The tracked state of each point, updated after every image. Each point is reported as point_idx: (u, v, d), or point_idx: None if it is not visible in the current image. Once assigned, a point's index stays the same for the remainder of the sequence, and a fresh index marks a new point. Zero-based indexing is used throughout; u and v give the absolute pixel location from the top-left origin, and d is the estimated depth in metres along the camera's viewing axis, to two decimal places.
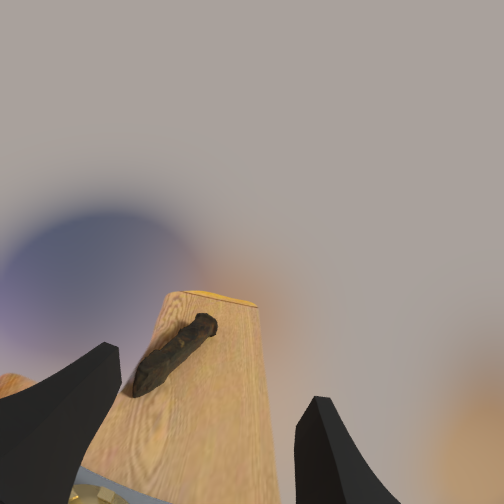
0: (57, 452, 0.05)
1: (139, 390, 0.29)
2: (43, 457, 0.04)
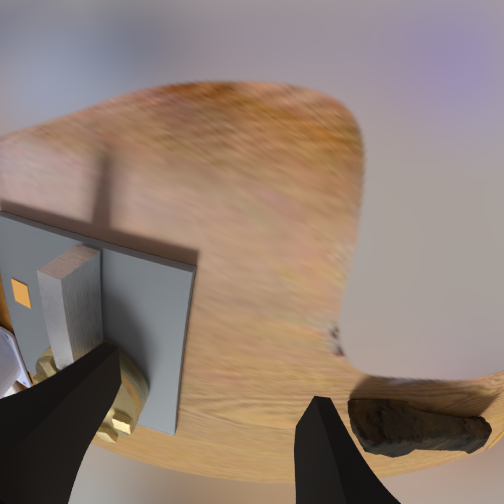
0: (57, 452, 0.05)
1: None
2: (43, 457, 0.04)
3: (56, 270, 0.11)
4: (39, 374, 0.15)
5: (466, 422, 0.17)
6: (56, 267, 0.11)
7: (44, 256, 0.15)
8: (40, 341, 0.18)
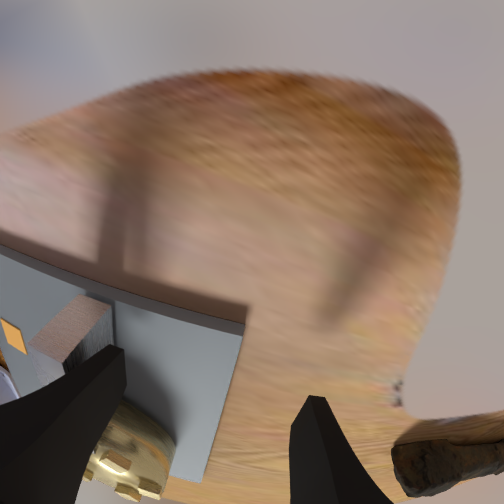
0: (64, 456, 0.05)
1: None
2: (50, 461, 0.04)
3: (54, 343, 0.07)
4: None
5: (497, 448, 0.13)
6: (53, 339, 0.08)
7: (37, 300, 0.11)
8: (41, 387, 0.14)
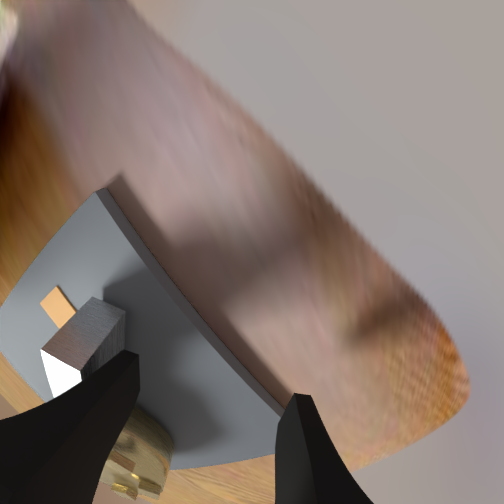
0: (81, 465, 0.05)
1: None
2: (68, 472, 0.04)
3: (69, 349, 0.07)
4: None
5: None
6: (68, 344, 0.08)
7: (158, 337, 0.11)
8: None
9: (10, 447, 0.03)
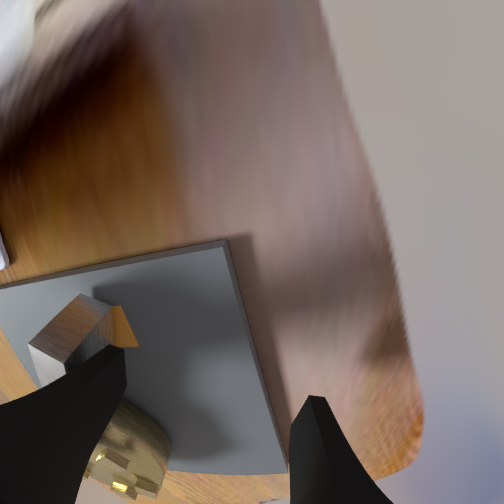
0: (64, 456, 0.05)
1: None
2: (50, 461, 0.04)
3: (55, 343, 0.07)
4: None
5: None
6: (54, 338, 0.08)
7: (218, 381, 0.12)
8: None
9: None
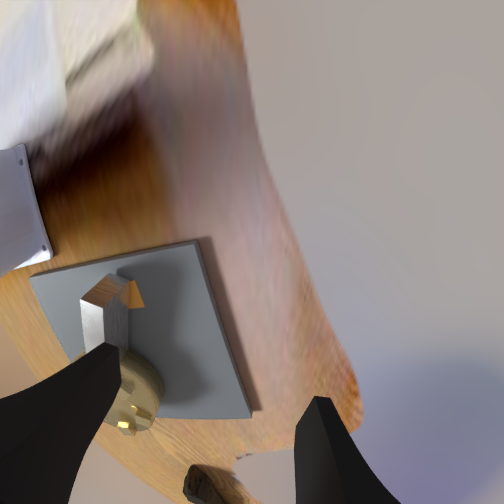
0: (57, 452, 0.05)
1: (186, 475, 0.27)
2: (43, 457, 0.04)
3: (96, 298, 0.15)
4: None
5: None
6: (96, 296, 0.15)
7: (194, 330, 0.19)
8: None
9: None
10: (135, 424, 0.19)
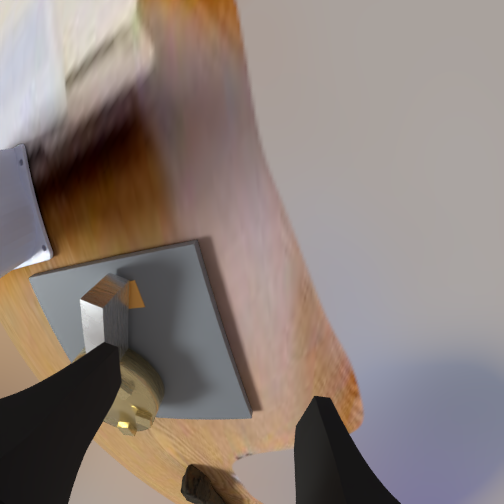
0: (57, 452, 0.05)
1: (184, 475, 0.27)
2: (43, 457, 0.04)
3: (96, 298, 0.15)
4: None
5: None
6: (96, 296, 0.15)
7: (194, 330, 0.19)
8: None
9: None
10: (135, 424, 0.19)
